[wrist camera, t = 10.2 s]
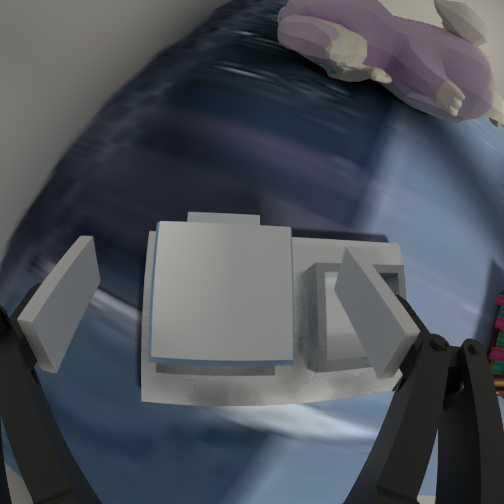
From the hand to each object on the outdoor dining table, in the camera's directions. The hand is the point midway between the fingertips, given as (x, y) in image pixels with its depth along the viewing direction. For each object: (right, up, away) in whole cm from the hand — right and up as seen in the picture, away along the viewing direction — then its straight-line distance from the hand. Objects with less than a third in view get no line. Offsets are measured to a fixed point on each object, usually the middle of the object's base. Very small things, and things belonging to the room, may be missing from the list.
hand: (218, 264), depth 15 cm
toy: (+18, +22, +17) cm, 33 cm away
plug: (-1, -4, +5) cm, 6 cm away
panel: (+4, -4, +7) cm, 9 cm away
